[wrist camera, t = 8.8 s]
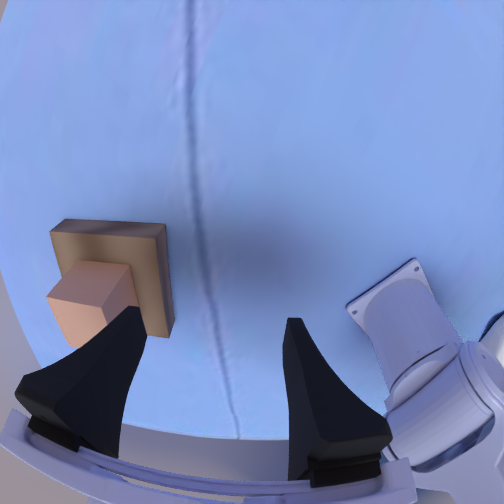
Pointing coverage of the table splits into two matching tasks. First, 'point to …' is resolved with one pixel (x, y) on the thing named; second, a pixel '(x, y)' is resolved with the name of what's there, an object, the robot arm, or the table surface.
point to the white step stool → (496, 339)
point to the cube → (91, 298)
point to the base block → (124, 261)
